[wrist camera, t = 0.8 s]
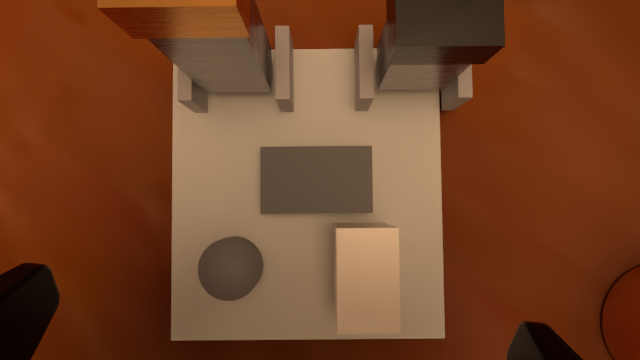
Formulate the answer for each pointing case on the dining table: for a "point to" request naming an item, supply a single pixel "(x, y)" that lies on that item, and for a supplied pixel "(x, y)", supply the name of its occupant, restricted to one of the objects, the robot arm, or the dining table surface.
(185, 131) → the panel
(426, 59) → the black lever
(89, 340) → the dining table surface
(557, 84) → the dining table surface
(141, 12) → the orange lever
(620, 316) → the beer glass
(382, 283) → the slider
